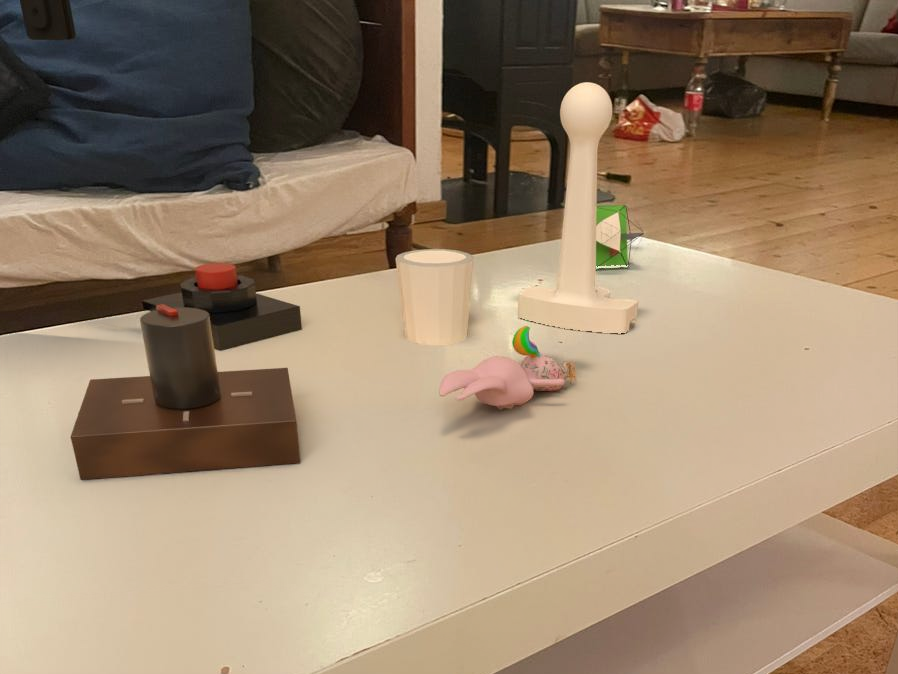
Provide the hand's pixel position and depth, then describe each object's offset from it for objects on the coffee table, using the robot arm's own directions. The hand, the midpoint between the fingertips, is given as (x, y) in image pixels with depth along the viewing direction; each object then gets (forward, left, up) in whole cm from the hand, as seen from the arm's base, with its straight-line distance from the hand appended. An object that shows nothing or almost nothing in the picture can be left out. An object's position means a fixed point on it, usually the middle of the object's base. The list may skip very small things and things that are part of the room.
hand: (52, 38), depth 76 cm
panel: (+18, -20, -23) cm, 35 cm away
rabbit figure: (+38, -8, -23) cm, 45 cm away
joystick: (+40, +17, -23) cm, 49 cm away
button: (+8, +6, -20) cm, 22 cm away
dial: (+18, -20, -20) cm, 34 cm away
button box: (+8, +6, -23) cm, 25 cm away
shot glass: (+28, +8, -23) cm, 37 cm away
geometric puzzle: (+40, +39, -23) cm, 61 cm away
